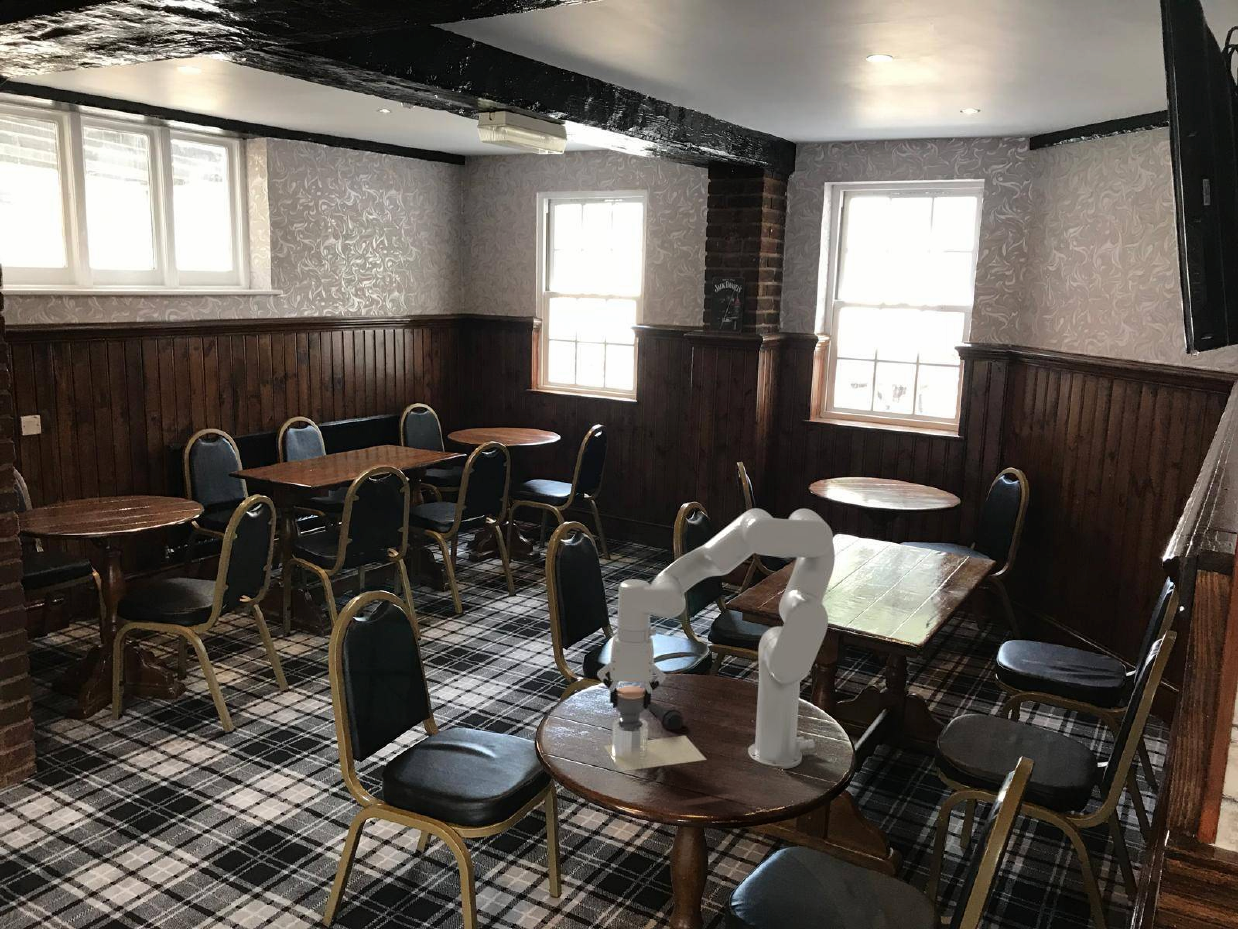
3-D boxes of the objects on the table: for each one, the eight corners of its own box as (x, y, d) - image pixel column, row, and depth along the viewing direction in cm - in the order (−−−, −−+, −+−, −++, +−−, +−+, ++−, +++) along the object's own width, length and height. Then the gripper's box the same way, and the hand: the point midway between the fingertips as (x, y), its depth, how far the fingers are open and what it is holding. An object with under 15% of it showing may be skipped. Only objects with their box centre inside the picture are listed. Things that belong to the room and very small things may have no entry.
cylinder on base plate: (684, 739, 242) (686, 708, 241) (706, 763, 230) (707, 731, 229) (603, 750, 235) (604, 718, 234) (621, 775, 223) (622, 742, 222)
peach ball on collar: (638, 712, 236) (639, 684, 234) (648, 724, 229) (649, 696, 228) (611, 715, 233) (612, 687, 232) (620, 727, 227) (621, 699, 226)
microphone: (640, 716, 262) (670, 739, 244) (633, 696, 261) (663, 718, 243) (658, 707, 264) (689, 729, 245) (651, 688, 263) (682, 708, 245)
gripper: (670, 629, 231) (666, 701, 234) (596, 626, 231) (593, 698, 234) (671, 640, 224) (667, 715, 227) (594, 637, 224) (592, 711, 227)
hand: (630, 705), depth 231 cm, fingers closed on peach ball on collar, 6 cm apart
